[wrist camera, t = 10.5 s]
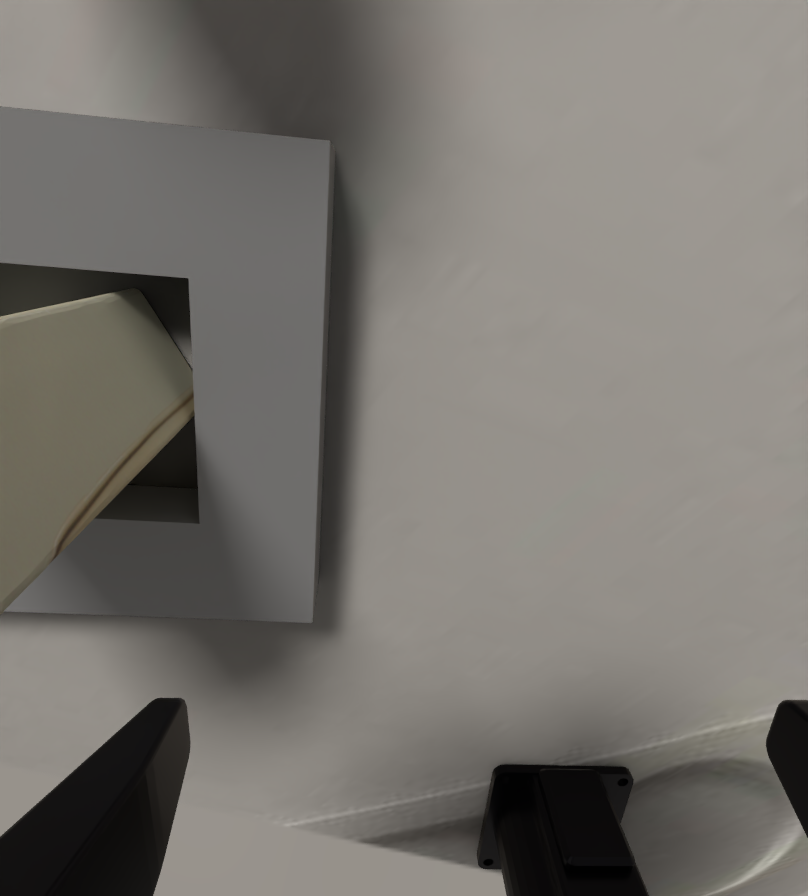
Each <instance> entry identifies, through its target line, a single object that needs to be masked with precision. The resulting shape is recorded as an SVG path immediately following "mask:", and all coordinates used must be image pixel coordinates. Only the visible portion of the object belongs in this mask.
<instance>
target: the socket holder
mask: <svg viewBox="0 0 808 896" xmlns="http://www.w3.org/2000/svg"><path fill="white" fill-rule="evenodd" d="M335 159H336V151H335V149H334V147H333V145H332V143H331V141H329V140H319V139H309V138H300V137H290V136H280V135H271V134H261V133H252V132H242V131H232V130H223V129H213V128H204V127H194V126H184V125H175V124H165V123H155V122H146V121H136V120H127V119H117V118H107V117H98V116H88V115H78V114H69V113H59V112H50V111H40V110H30V109H21V108H11V107H2V106H0V263H12V264H24V265H35V266H47V267H59V268H71V269H83V270H95V271H107V272H119V273H131V274H143V275H155V276H167V277H179V278H188V280H189V302H190V324H191V346H192V368H193V390H194V412H195V434H196V456H197V478H198V489H189V488H171V487H153V486H135V485H126V486H125V487H124V488H123V489H122V490H121V491H120V492H119V494H118V495H117V496H116V497H115V498H114V499H113V500H112V501H111V502H110V503H109V504H108V505H107V506H106V507H105V508H104V509H103V510H102V511H101V512H100V513H99V514H98V515H97V516H96V517H95V518H94V519H93V520H92V521H91V522H90V523H89V524H88V525H87V526H86V527H85V528H84V530H83V531H82V532H81V533H80V534H79V535H78V536H77V537H76V538H75V539H74V540H73V541H72V542H71V543H70V544H69V545H68V546H67V547H66V548H65V549H64V550H63V551H62V552H61V553H60V554H59V555H58V556H57V557H56V558H55V559H54V560H53V561H52V562H51V563H50V564H49V565H48V566H47V567H46V569H45V570H44V571H43V572H42V573H41V574H40V575H39V576H38V577H37V578H36V579H35V580H34V581H33V582H32V583H31V584H30V585H29V586H28V587H27V588H26V589H25V590H24V591H23V592H22V593H21V594H20V595H19V596H18V597H17V598H16V599H15V600H14V601H13V602H12V603H11V604H10V605H9V606H8V607H7V608H6V609H5V610H4V611H7V612H33V613H60V614H86V615H113V616H140V617H166V618H193V619H219V620H246V621H272V622H299V623H313V616H314V610H315V603H316V596H317V589H318V583H319V560H320V535H321V510H322V485H323V460H324V435H325V410H326V385H327V360H328V335H329V310H330V285H331V259H332V234H333V209H334V184H335Z"/></svg>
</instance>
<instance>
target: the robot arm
mask: <svg viewBox="0 0 808 896" xmlns="http://www.w3.org/2000/svg"><path fill="white" fill-rule="evenodd" d="M766 748H767V753H768V756H769V758H770V761H771V763H772V765H773V767H774V769H775V771H776V773H777V775H778V777H779V779H780V781H781V783H782V786H783V788H784V790H785V792H786V794H787V796H788V798H789V800H790V802H791V804H792V806H793V808H794V810H795V813H796V815H797V817H798V819H799V821H800V823H801V825H802V827H803V829H804V831H805V833H806V835H807V837H808V700H785V701H782V702H781V703H780V704H779V705H778V707H777V710H776V713H775V716H774V719H773V721H772V724H771V727H770V730H769V733H768V736H767V739H766ZM189 753H190V733H189V723H188V714H187V705H186V703H185V700H183V699H181V698H157V699H155V700H153V701H152V702H150V703H149V704H148V705H147V706H146V707H145V708H144V709H142V710H141V711H140V712H139V713H138V714H137V715H136V716H135V717H134V718H132V719H131V720H130V721H129V722H128V723H127V724H126V725H125V726H123V727H122V728H121V729H120V730H119V731H118V732H117V733H116V734H115V735H113V736H112V737H111V738H110V739H109V740H108V741H107V742H106V743H104V744H103V745H102V746H101V747H100V748H99V749H98V750H97V751H96V752H94V753H93V754H92V755H91V756H90V757H89V758H88V759H87V760H85V761H84V762H83V763H82V764H81V765H80V766H79V767H78V768H77V769H75V770H74V771H73V772H72V773H71V774H70V775H69V776H68V777H66V778H65V779H64V780H63V781H62V782H61V783H60V784H59V785H58V786H56V787H55V788H54V789H53V790H52V791H51V792H50V793H49V794H48V795H46V796H45V797H44V798H43V799H42V800H41V801H40V802H39V803H37V804H36V805H35V806H34V807H33V808H32V809H31V810H30V811H29V812H27V813H26V814H25V815H24V816H23V817H22V818H21V819H20V820H18V821H17V822H16V823H15V824H14V825H13V826H12V827H11V828H9V829H8V830H7V831H6V832H5V833H4V834H3V835H2V836H1V837H0V896H153V894H154V891H155V887H156V885H157V881H158V878H159V875H160V872H161V868H162V864H163V861H164V856H165V853H166V849H167V844H168V841H169V836H170V832H171V828H172V824H173V820H174V816H175V812H176V808H177V804H178V800H179V796H180V792H181V788H182V783H183V779H184V775H185V771H186V767H187V763H188V759H189ZM632 785H633V778H632V775H631V773H630V771H629V769H627V768H626V767H608V766H554V765H500V766H498V767H496V768H495V769H494V771H493V773H492V778H491V784H490V789H489V794H488V799H487V804H486V809H485V814H484V820H483V825H482V830H481V835H480V840H479V845H478V850H477V859H478V865H479V866H480V867H481V868H483V869H502V874H503V879H504V884H505V889H506V894H507V896H649V894H648V892H647V889H646V887H645V885H644V882H643V880H642V877H641V875H640V872H639V870H638V868H637V865H636V863H635V859H634V856H633V854H632V851H631V849H630V846H629V844H628V842H627V839H626V837H625V834H624V832H623V829H622V827H621V825H620V823H621V820H622V817H623V813H624V810H625V807H626V804H627V801H628V798H629V794H630V791H631V788H632Z"/></svg>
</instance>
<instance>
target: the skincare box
mask: <svg viewBox="0 0 808 896" xmlns="http://www.w3.org/2000/svg"><path fill="white" fill-rule="evenodd" d="M194 415H195V412H194V390H193V372H192V370H191V369H190V367H189V365H188V364H187V362H186V361H185V359H184V357H183V356H182V354H181V353H180V351H179V350H178V348H177V346H176V345H175V343H174V342H173V340H172V339H171V337H170V335H169V334H168V332H167V331H166V329H165V328H164V326H163V325H162V323H161V321H160V320H159V318H158V317H157V315H156V314H155V312H154V311H153V309H152V308H151V306H150V305H149V303H148V301H147V300H146V298H145V297H144V295H143V294H142V293H141V292H140V291H139V290H138V289H134V288H131V289H127V290H122V291H117V292H113V293H108V294H103V295H99V296H94V297H89V298H85V299H80V300H75V301H71V302H66V303H61V304H57V305H52V306H47V307H43V308H38V309H33V310H29V311H24V312H19V313H15V314H10V315H5V316H1V317H0V615H1V614H2V613H3V612H4V610H5V609H6V608H7V607H8V606H9V605H10V604H11V603H12V602H13V601H14V600H15V599H16V598H17V597H18V596H19V595H20V594H21V593H22V592H23V591H24V590H25V589H26V588H27V587H28V586H29V585H30V584H31V583H32V582H33V581H34V580H35V579H36V578H37V577H38V576H39V575H40V574H41V573H42V572H43V571H44V570H45V569H46V567H47V566H48V565H49V564H50V563H51V562H52V561H53V560H54V559H55V558H56V557H57V556H58V555H59V554H60V553H61V552H62V551H63V550H64V549H65V548H66V547H67V546H68V545H69V544H70V543H71V542H72V541H73V540H74V539H75V538H76V537H77V536H78V535H79V534H80V533H81V532H82V531H83V530H84V528H85V527H86V526H87V525H88V524H89V523H90V522H91V521H92V520H93V519H94V518H95V517H96V516H97V515H98V514H99V513H100V512H101V511H102V510H103V509H104V508H105V507H106V506H107V505H108V504H109V503H110V502H111V501H112V500H113V499H114V498H115V497H116V496H117V495H118V494H119V492H120V491H121V490H122V489H123V488H124V487H125V486H126V485H127V484H128V483H129V482H130V481H131V480H132V479H133V478H134V477H135V476H136V475H137V474H138V473H139V472H140V471H141V470H142V469H143V468H144V467H145V466H146V465H147V464H148V463H149V462H150V461H151V460H152V459H153V458H154V457H155V456H156V455H157V454H158V453H159V452H160V451H161V449H162V448H163V447H164V446H165V445H166V444H167V443H168V442H169V441H170V440H171V439H172V438H173V437H174V436H175V435H176V434H177V433H178V432H179V431H180V430H181V429H182V428H183V427H184V426H185V425H186V424H187V423H188V421H189V420H190V419H191V418H192V417H193V416H194Z"/></svg>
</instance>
